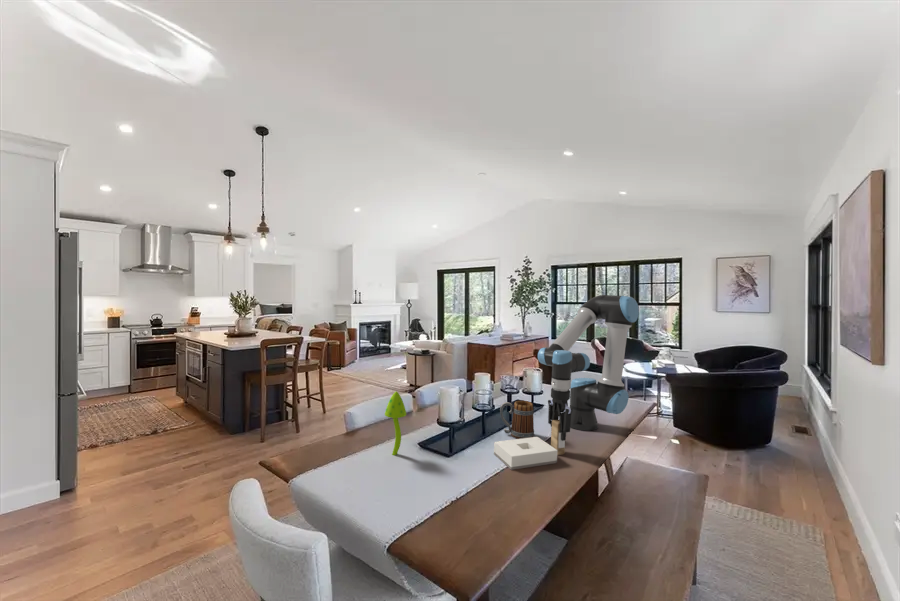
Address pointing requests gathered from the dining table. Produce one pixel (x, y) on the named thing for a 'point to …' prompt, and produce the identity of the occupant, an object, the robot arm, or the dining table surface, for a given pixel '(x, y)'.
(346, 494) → the dining table surface
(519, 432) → the mug
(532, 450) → the block
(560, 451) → the pin
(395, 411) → the mushroom
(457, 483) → the dining table surface
